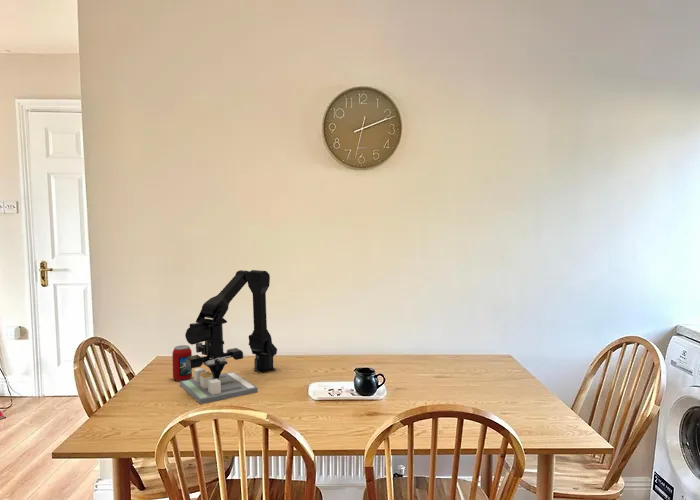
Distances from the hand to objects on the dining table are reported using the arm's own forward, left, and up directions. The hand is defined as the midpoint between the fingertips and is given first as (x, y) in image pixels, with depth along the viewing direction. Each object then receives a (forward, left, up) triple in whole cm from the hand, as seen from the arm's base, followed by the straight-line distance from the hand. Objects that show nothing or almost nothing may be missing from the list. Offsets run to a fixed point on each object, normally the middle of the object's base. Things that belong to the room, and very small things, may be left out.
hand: (216, 381), depth 174 cm
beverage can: (+6, -18, -3) cm, 19 cm away
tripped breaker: (+4, 0, -1) cm, 4 cm away
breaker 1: (+3, -8, -1) cm, 8 cm away
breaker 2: (+3, +7, -1) cm, 8 cm away
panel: (-1, 0, -3) cm, 3 cm away
